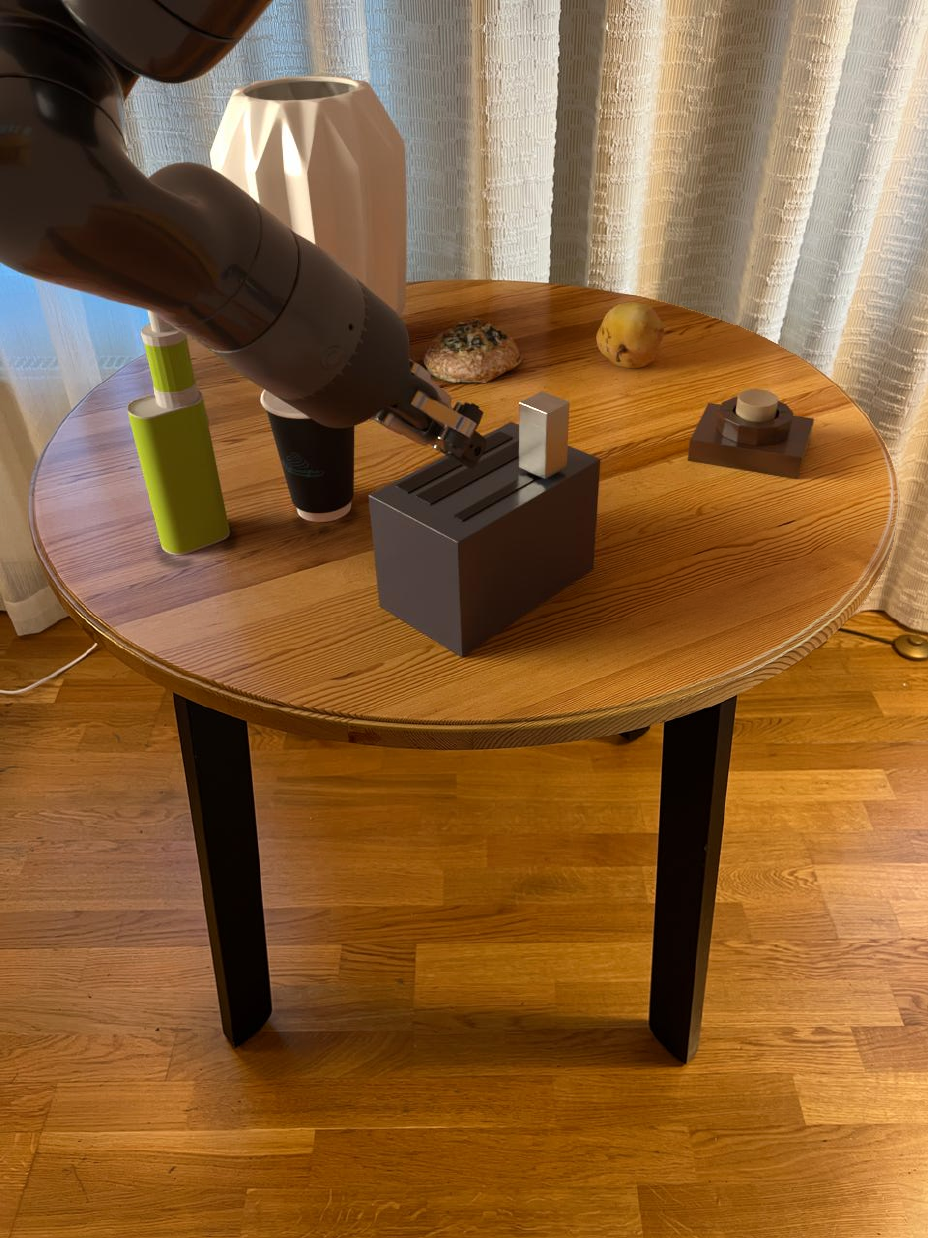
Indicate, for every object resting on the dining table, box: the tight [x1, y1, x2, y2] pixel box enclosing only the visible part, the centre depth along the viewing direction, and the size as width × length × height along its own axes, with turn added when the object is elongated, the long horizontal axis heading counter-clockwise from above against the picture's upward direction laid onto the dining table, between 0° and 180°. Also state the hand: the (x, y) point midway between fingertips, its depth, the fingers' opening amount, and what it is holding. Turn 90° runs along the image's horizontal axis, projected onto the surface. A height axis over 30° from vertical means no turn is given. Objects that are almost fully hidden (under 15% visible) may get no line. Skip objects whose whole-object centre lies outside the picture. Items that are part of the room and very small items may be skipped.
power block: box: [687, 396, 815, 480], centre depth 95 cm, size 10×8×4 cm
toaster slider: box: [518, 390, 570, 479], centre depth 72 cm, size 2×3×5 cm
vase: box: [209, 74, 408, 318], centre depth 107 cm, size 20×20×28 cm
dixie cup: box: [260, 389, 355, 523], centre depth 87 cm, size 8×8×11 cm
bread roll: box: [422, 318, 523, 384], centre depth 112 cm, size 11×11×5 cm
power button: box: [735, 388, 779, 422], centre depth 93 cm, size 4×4×2 cm
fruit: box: [595, 301, 665, 369], centre depth 110 cm, size 7×7×10 cm
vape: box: [126, 310, 231, 556], centre depth 81 cm, size 4×6×20 cm, turn 126°
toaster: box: [368, 421, 601, 659], centre depth 77 cm, size 15×9×10 cm, turn 135°
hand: (472, 452), depth 68 cm, fingers closed
